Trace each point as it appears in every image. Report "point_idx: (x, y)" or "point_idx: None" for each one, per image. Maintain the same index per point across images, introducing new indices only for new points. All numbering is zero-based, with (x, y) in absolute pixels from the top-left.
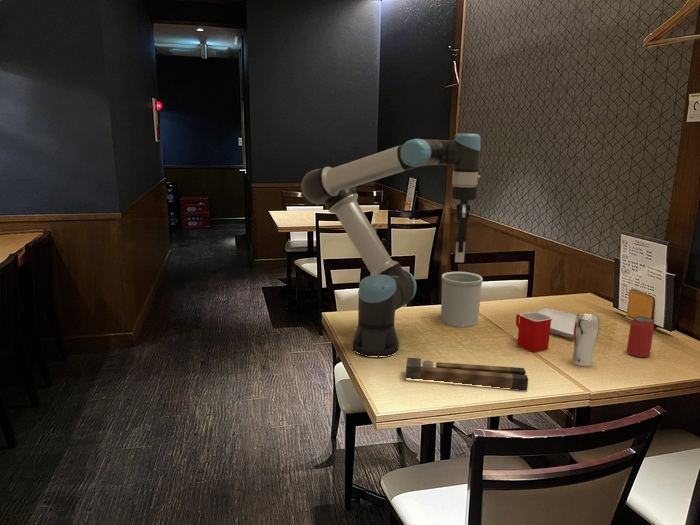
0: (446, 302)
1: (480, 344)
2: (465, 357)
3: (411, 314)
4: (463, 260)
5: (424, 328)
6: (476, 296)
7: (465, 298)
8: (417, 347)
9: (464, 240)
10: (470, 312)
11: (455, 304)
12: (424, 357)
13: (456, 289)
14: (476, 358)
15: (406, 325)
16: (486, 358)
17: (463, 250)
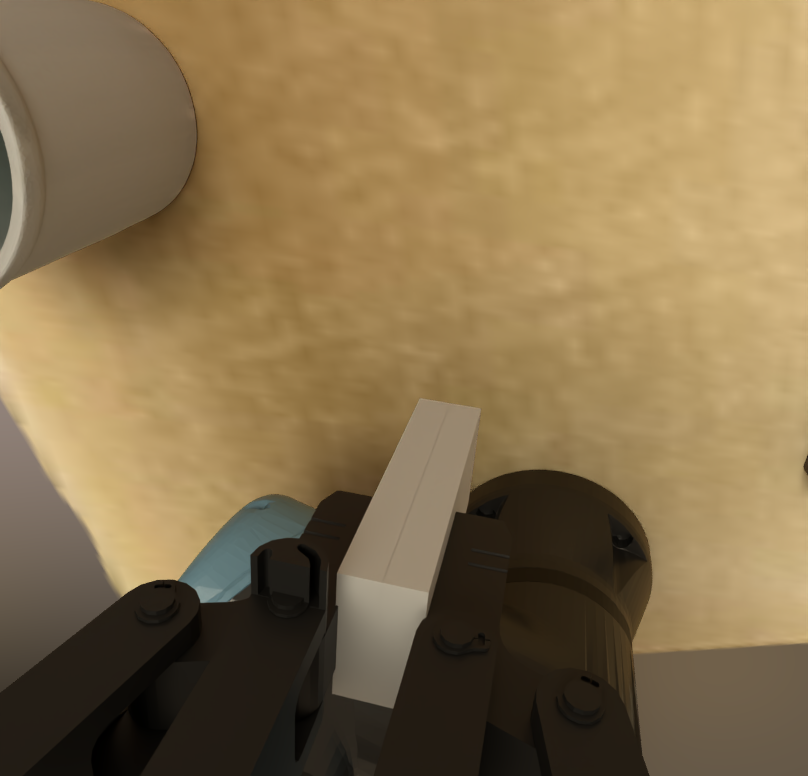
0: (100, 236)
1: (444, 40)
2: (640, 163)
3: (86, 360)
4: (476, 427)
5: (261, 323)
6: (39, 31)
7: (94, 123)
8: (516, 387)
9: (614, 710)
10: (136, 71)
11: (126, 183)
12: (640, 371)
13: (62, 204)
14: (655, 101)
15: (241, 401)
16: (656, 37)
17: (453, 514)
